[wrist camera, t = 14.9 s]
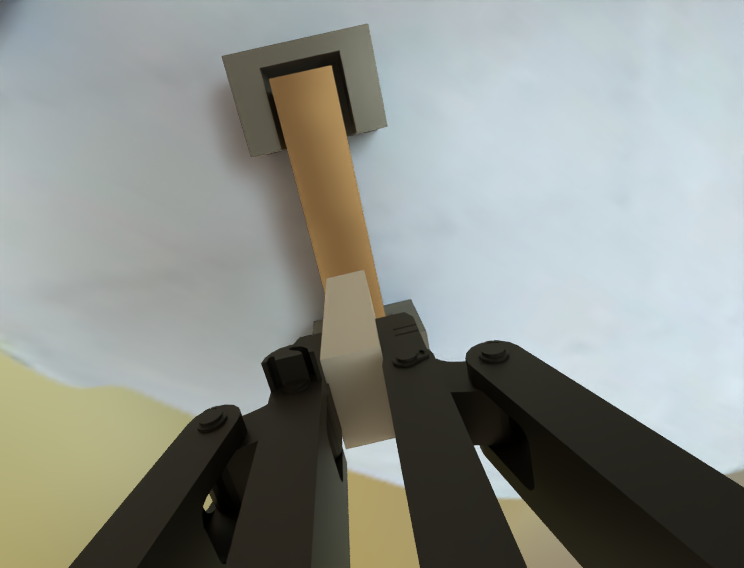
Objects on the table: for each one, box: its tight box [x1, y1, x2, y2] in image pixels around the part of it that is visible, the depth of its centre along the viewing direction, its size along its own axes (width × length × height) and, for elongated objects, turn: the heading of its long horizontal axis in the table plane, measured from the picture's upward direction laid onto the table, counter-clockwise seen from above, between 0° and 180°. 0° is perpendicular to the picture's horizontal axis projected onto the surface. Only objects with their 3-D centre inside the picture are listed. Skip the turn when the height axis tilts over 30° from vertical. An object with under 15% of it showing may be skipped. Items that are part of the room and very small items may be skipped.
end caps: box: [222, 24, 430, 350], centre depth 32 cm, size 8×25×6 cm, turn 12°
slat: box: [269, 65, 385, 318], centre depth 30 cm, size 4×22×6 cm, turn 12°
